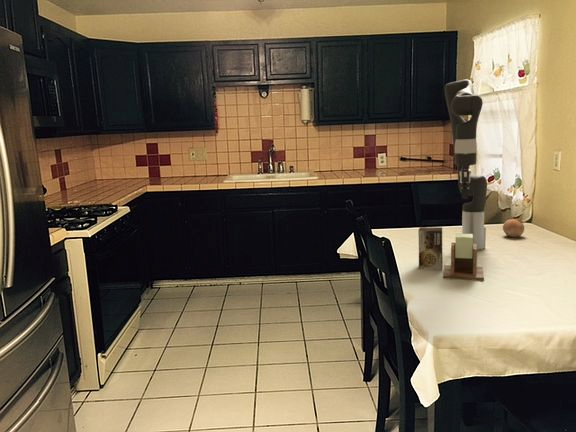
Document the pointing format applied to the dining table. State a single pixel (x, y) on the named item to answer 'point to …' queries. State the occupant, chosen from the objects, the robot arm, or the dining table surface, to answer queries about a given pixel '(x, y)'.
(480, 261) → the dining table surface
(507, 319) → the dining table surface
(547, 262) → the dining table surface
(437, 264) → the coffee box
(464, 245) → the block
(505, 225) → the onion
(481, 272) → the chute
